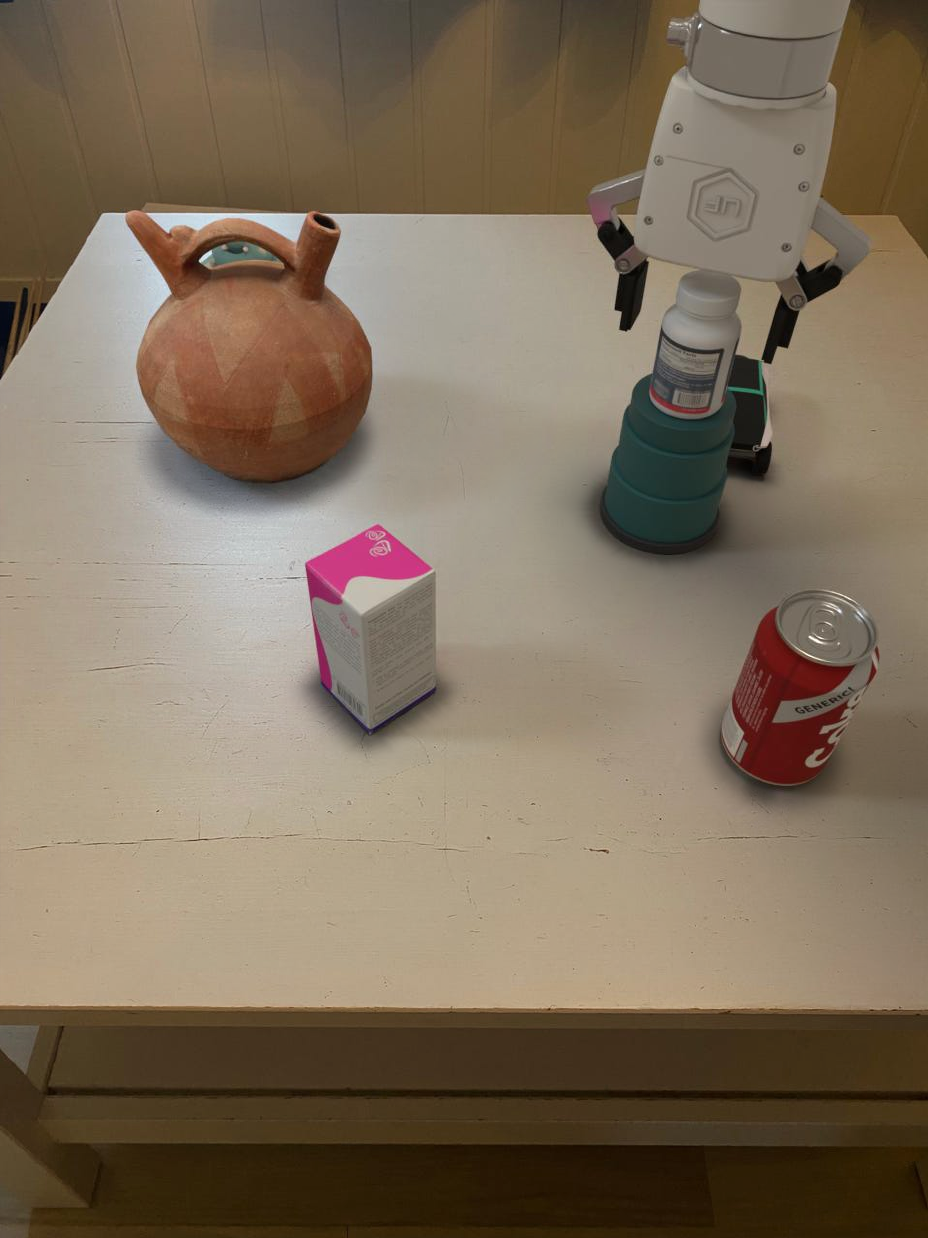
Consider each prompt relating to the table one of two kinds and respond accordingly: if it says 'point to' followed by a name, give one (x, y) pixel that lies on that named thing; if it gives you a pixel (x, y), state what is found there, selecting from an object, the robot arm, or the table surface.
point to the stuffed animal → (237, 254)
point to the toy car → (751, 412)
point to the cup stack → (667, 476)
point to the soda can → (800, 686)
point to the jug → (252, 349)
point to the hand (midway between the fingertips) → (698, 336)
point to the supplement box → (374, 626)
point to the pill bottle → (697, 346)
